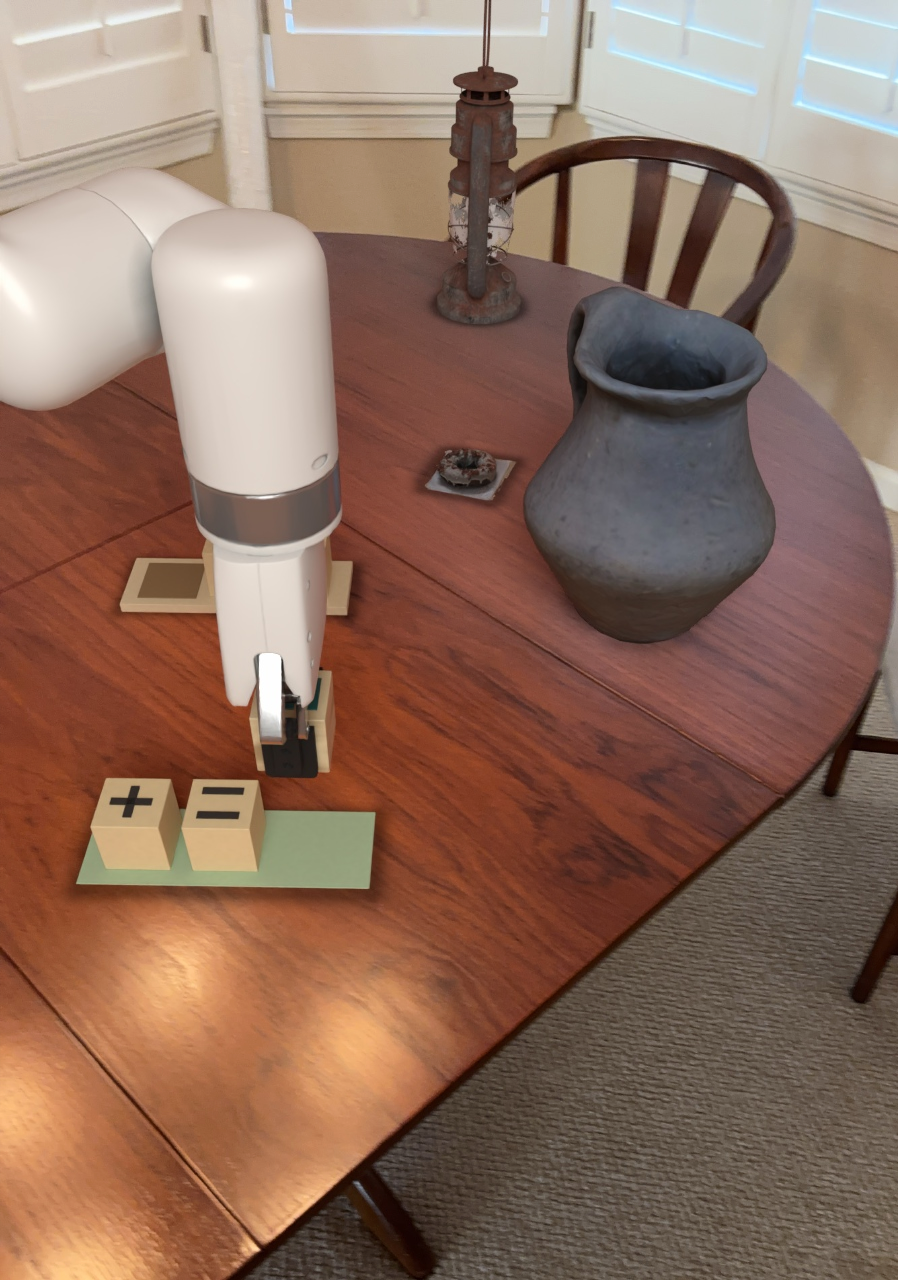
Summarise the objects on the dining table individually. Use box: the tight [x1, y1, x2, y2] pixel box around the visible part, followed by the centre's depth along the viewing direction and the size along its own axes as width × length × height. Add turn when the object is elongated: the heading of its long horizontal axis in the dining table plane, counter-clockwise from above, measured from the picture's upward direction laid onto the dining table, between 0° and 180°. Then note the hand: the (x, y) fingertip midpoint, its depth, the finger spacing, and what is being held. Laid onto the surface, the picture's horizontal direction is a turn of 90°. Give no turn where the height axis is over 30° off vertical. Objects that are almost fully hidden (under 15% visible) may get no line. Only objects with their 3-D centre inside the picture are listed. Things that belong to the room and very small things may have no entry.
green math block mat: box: [75, 777, 376, 890], centre depth 73 cm, size 20×7×6 cm, turn 89°
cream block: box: [248, 670, 337, 773], centre depth 65 cm, size 4×4×5 cm
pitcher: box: [522, 286, 777, 645], centre depth 86 cm, size 21×22×25 cm
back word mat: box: [119, 534, 354, 616], centre depth 94 cm, size 20×7×6 cm, turn 89°
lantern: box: [436, 0, 522, 325], centre depth 125 cm, size 11×16×35 cm
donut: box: [424, 447, 517, 502], centre depth 108 cm, size 8×8×2 cm
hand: (297, 742), depth 67 cm, fingers closed on cream block, 4 cm apart
